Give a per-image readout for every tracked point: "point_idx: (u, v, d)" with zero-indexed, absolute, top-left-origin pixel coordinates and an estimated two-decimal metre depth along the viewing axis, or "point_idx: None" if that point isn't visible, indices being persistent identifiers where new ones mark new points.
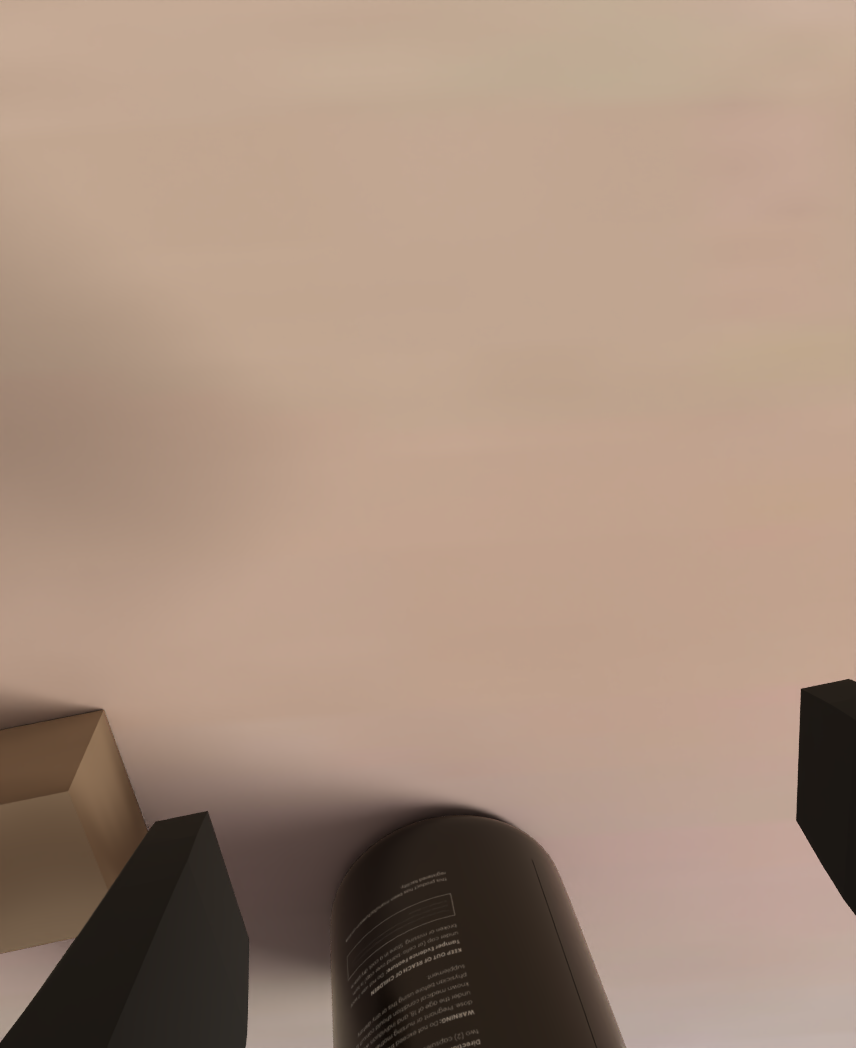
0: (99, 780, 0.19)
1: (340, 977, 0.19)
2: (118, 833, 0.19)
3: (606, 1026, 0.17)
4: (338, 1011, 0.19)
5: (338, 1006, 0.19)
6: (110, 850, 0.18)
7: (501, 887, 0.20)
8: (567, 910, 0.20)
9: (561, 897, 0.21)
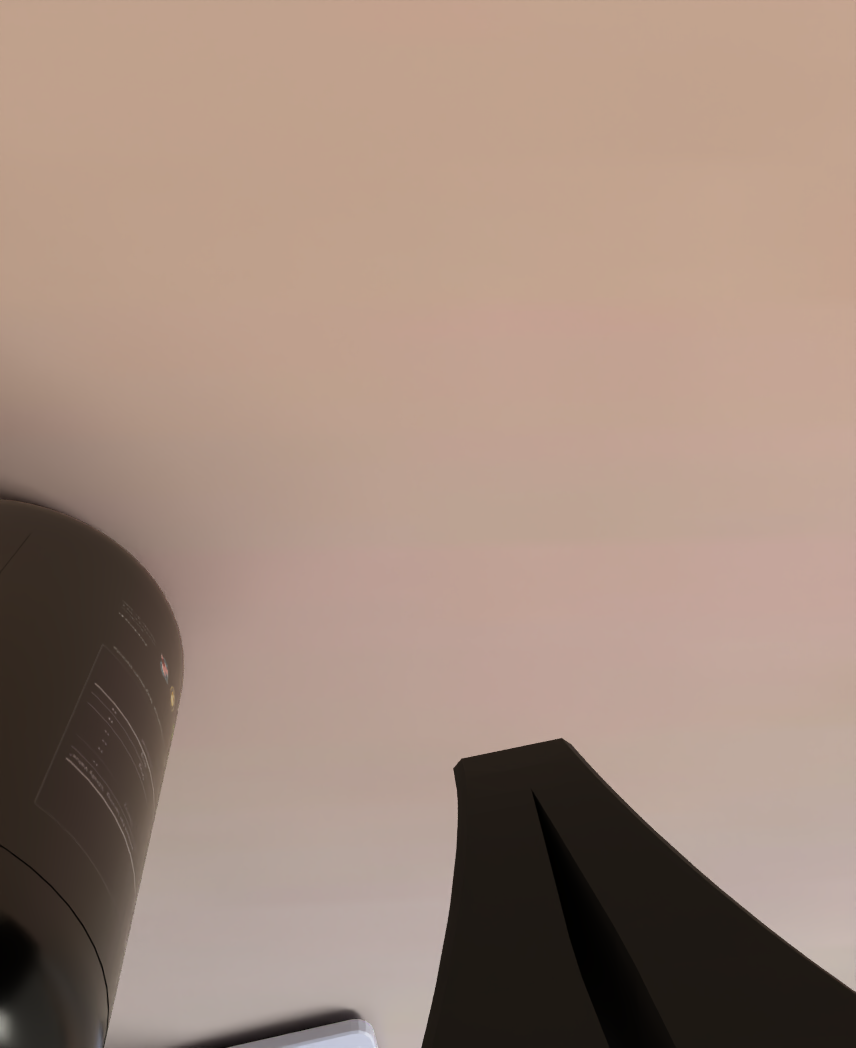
0: None
1: None
2: None
3: (39, 726, 0.10)
4: None
5: None
6: None
7: None
8: (109, 612, 0.13)
9: (109, 598, 0.13)
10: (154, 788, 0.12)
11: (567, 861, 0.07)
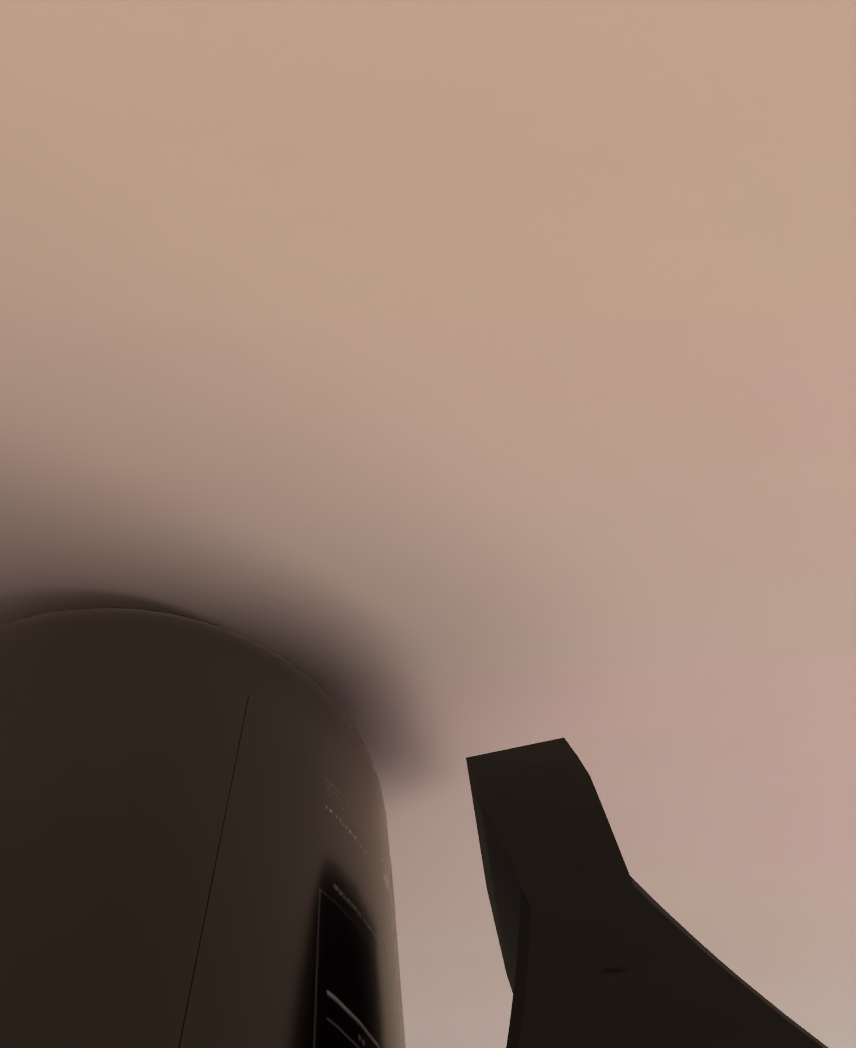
0: None
1: None
2: None
3: None
4: None
5: None
6: None
7: (87, 736, 0.07)
8: (314, 811, 0.08)
9: (309, 781, 0.08)
10: None
11: (510, 873, 0.07)
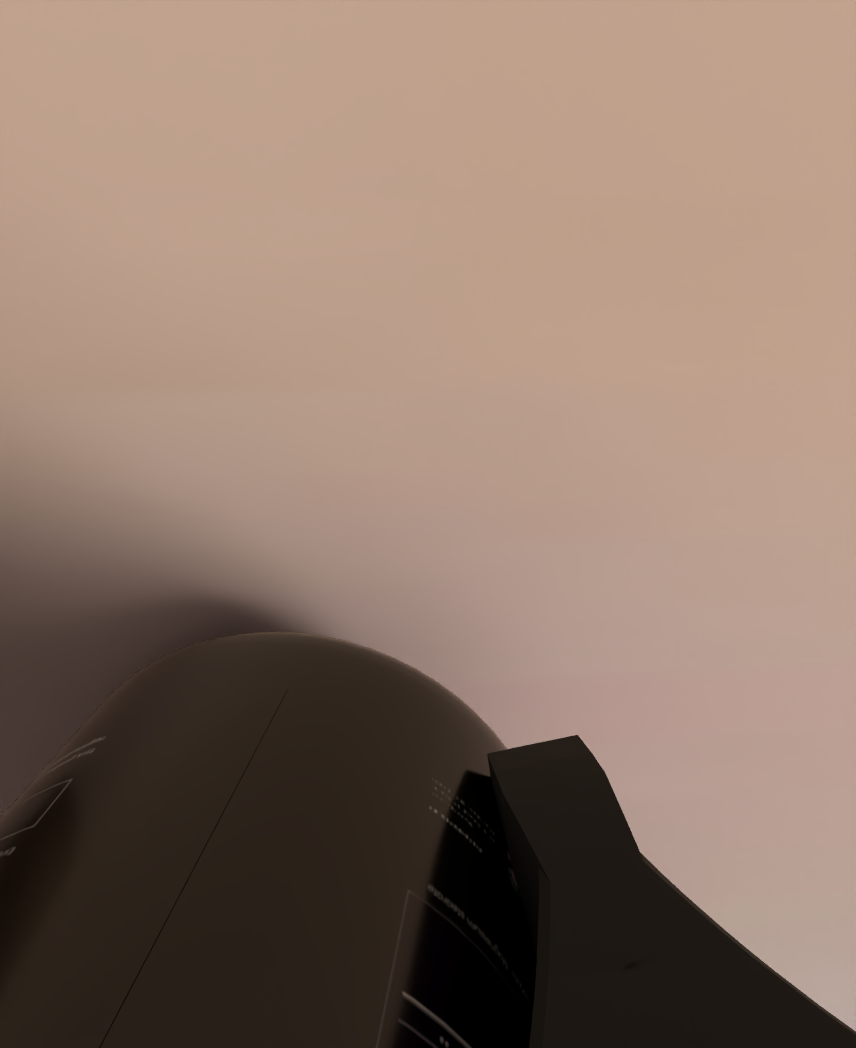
0: None
1: None
2: None
3: None
4: None
5: None
6: None
7: (191, 756, 0.08)
8: (413, 813, 0.08)
9: (411, 783, 0.08)
10: None
11: (536, 868, 0.07)
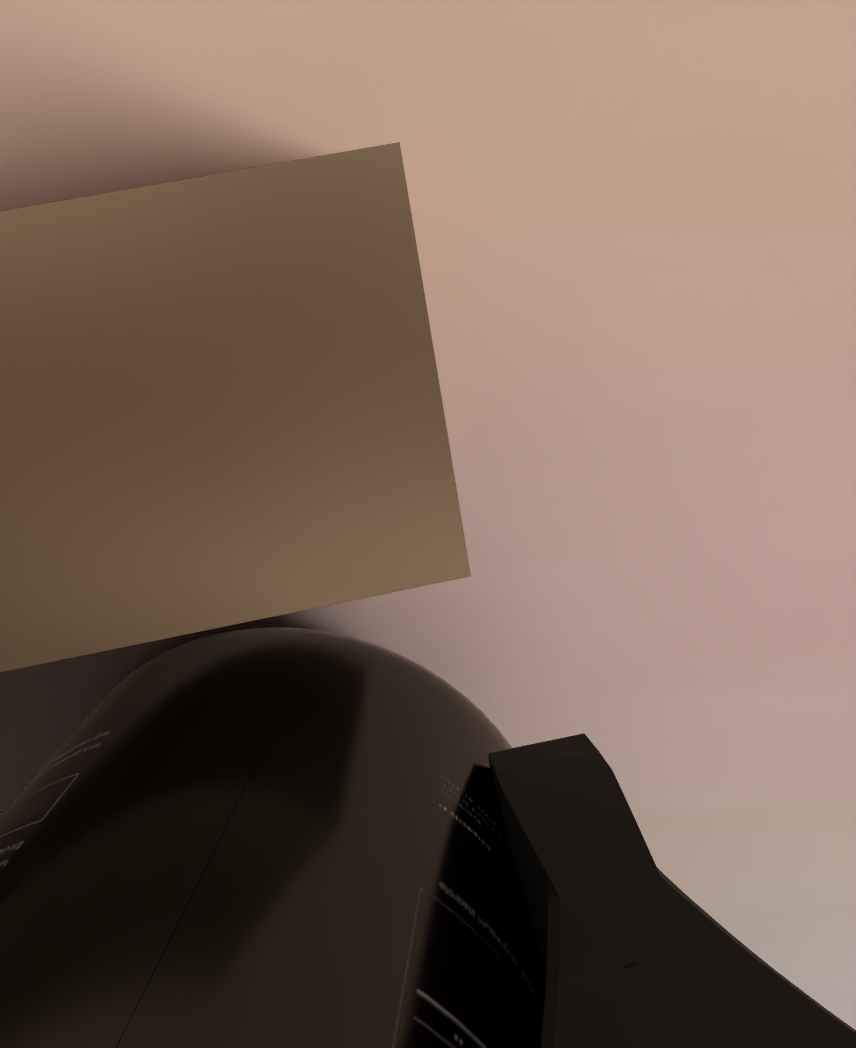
0: None
1: None
2: None
3: None
4: None
5: None
6: None
7: (201, 751, 0.08)
8: (423, 810, 0.08)
9: (421, 780, 0.08)
10: None
11: (537, 867, 0.07)
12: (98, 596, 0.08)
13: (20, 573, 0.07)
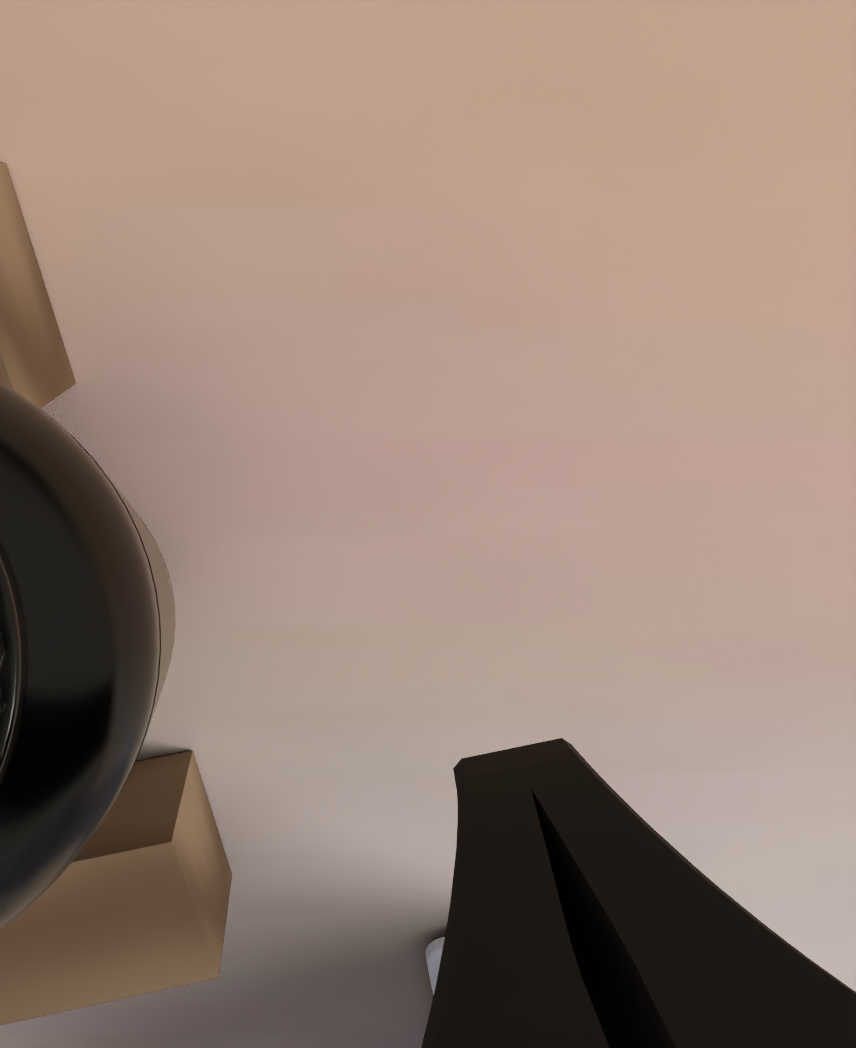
0: None
1: None
2: (23, 316, 0.14)
3: None
4: None
5: None
6: (6, 314, 0.13)
7: None
8: None
9: None
10: (167, 590, 0.12)
11: (567, 861, 0.07)
12: None
13: None
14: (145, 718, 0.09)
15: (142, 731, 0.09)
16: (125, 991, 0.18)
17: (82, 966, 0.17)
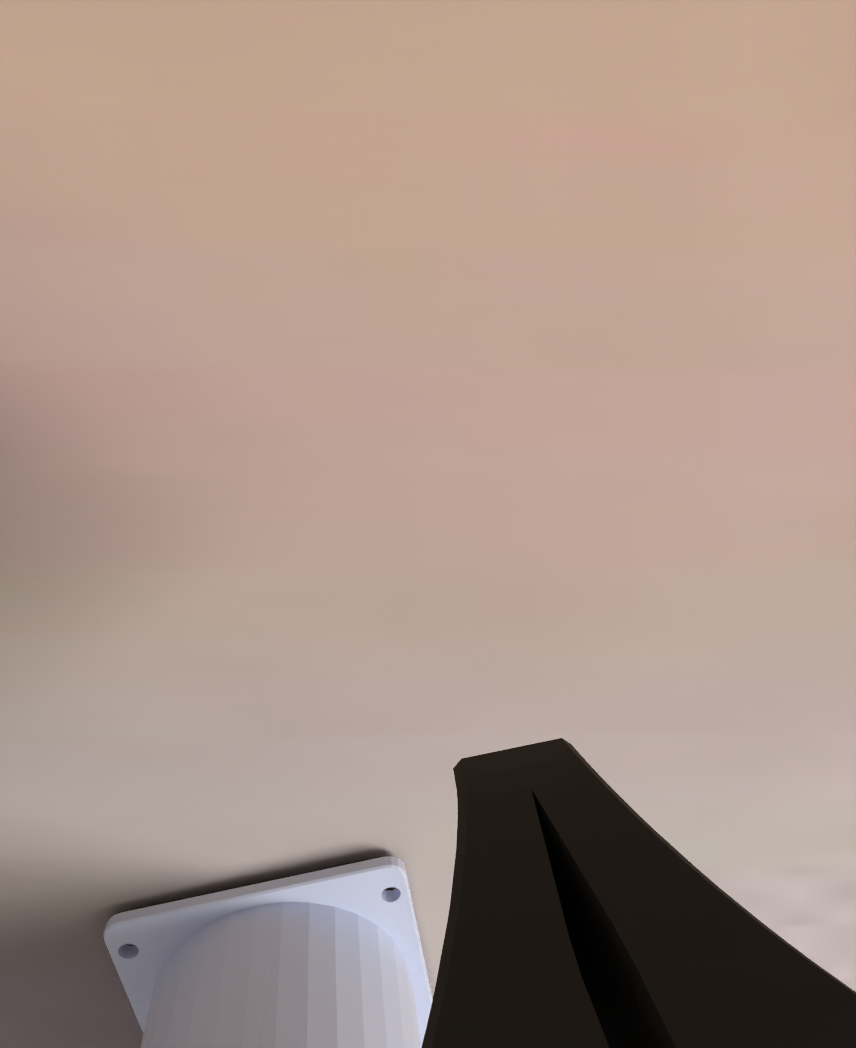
0: None
1: None
2: None
3: None
4: None
5: None
6: None
7: None
8: None
9: None
10: None
11: (567, 861, 0.07)
12: None
13: None
14: None
15: None
16: None
17: None
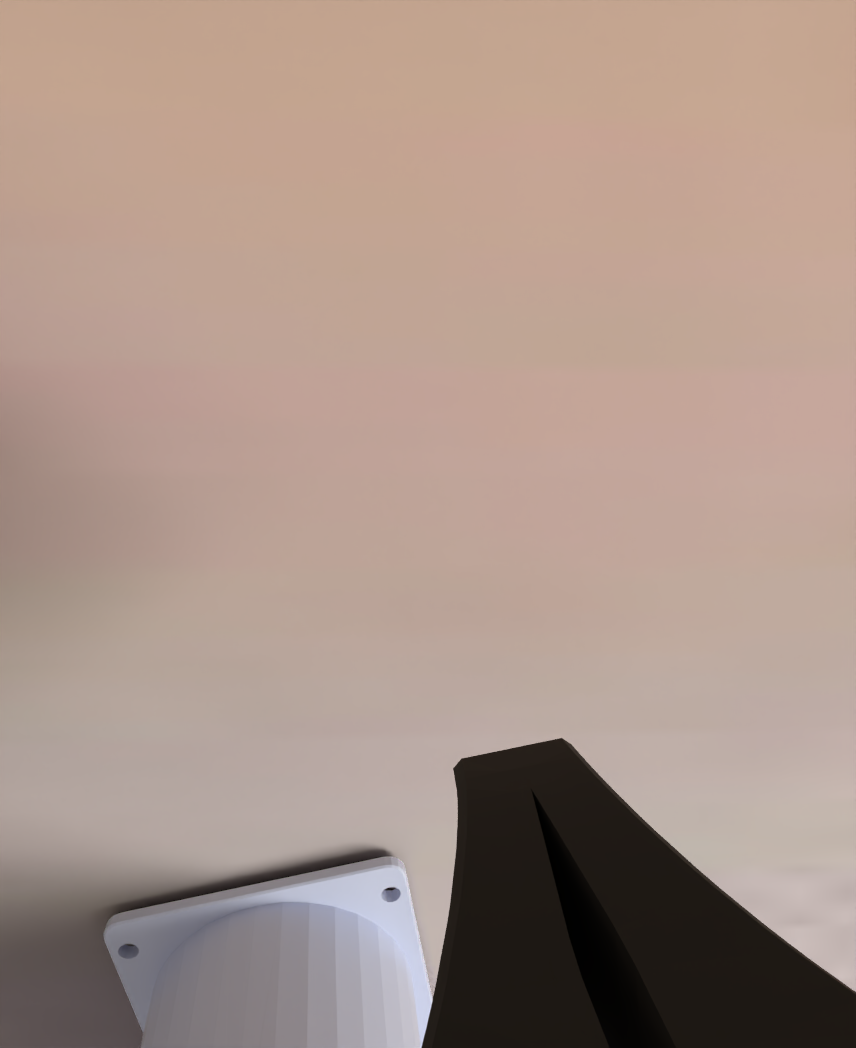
0: None
1: None
2: None
3: None
4: None
5: None
6: None
7: None
8: None
9: None
10: None
11: (567, 861, 0.07)
12: None
13: None
14: None
15: None
16: None
17: None
